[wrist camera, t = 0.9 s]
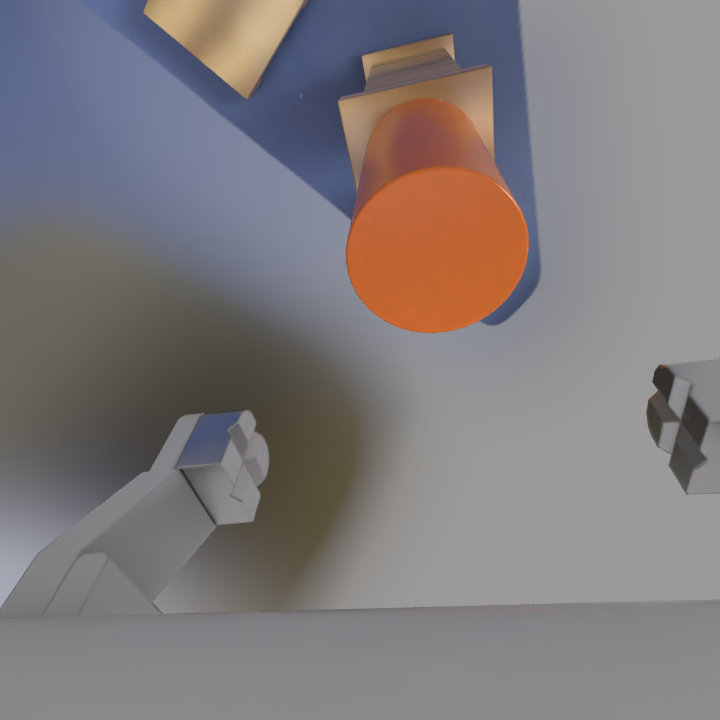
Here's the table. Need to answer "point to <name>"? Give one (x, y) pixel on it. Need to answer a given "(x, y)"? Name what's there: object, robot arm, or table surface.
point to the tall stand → (415, 91)
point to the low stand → (229, 34)
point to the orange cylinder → (433, 222)
